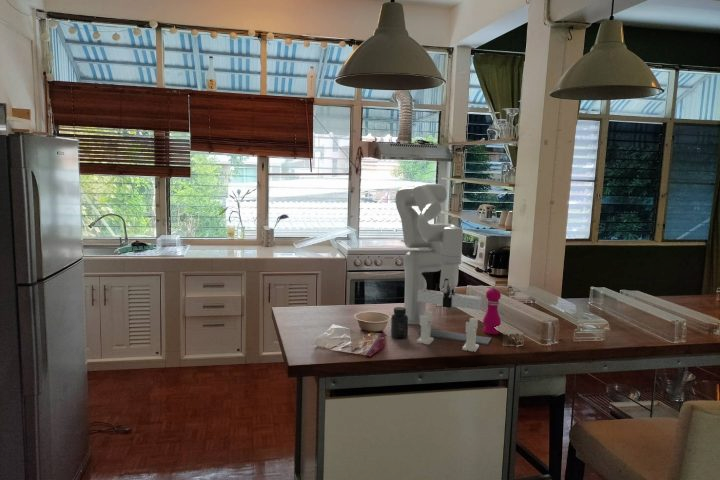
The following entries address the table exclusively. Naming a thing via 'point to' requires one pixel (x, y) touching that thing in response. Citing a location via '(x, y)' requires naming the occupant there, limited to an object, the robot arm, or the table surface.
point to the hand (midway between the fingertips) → (448, 305)
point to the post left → (425, 328)
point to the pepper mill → (492, 311)
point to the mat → (457, 336)
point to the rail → (457, 299)
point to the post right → (471, 335)
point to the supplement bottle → (399, 324)
